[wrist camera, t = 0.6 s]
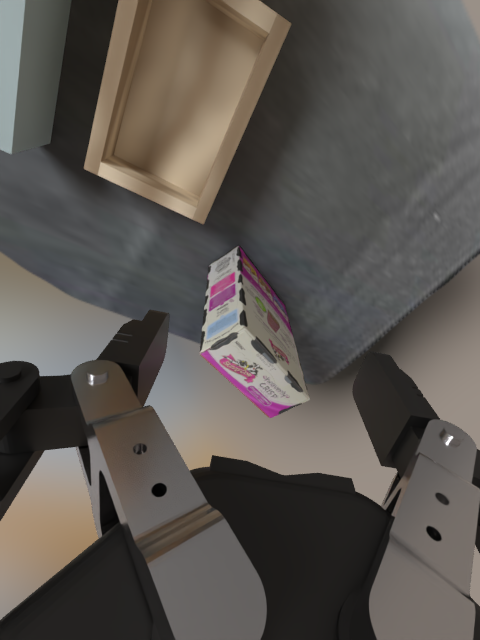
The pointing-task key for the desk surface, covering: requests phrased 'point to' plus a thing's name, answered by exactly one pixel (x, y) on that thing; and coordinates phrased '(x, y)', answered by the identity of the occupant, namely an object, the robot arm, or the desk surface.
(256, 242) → the desk surface
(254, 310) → the candy bar box
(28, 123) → the wall board
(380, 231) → the desk surface
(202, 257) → the desk surface
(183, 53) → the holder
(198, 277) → the desk surface
